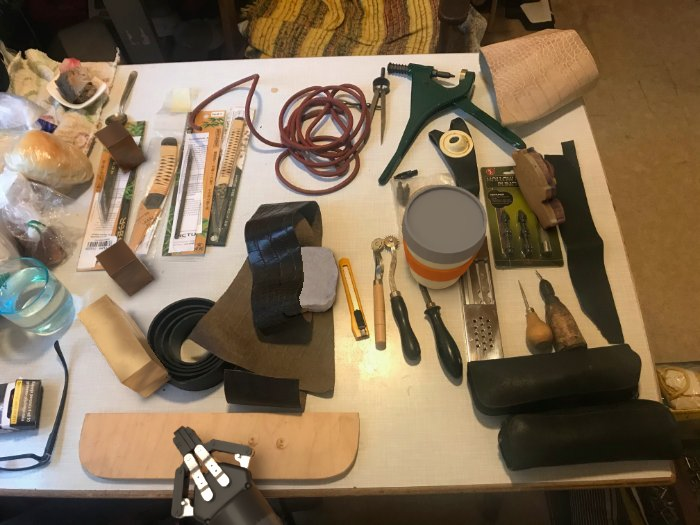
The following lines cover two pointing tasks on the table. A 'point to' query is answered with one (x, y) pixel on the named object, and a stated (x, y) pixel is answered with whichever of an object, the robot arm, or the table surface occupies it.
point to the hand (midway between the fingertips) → (179, 430)
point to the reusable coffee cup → (442, 234)
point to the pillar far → (120, 146)
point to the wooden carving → (538, 186)
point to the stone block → (318, 279)
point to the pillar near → (125, 267)
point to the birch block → (123, 346)
